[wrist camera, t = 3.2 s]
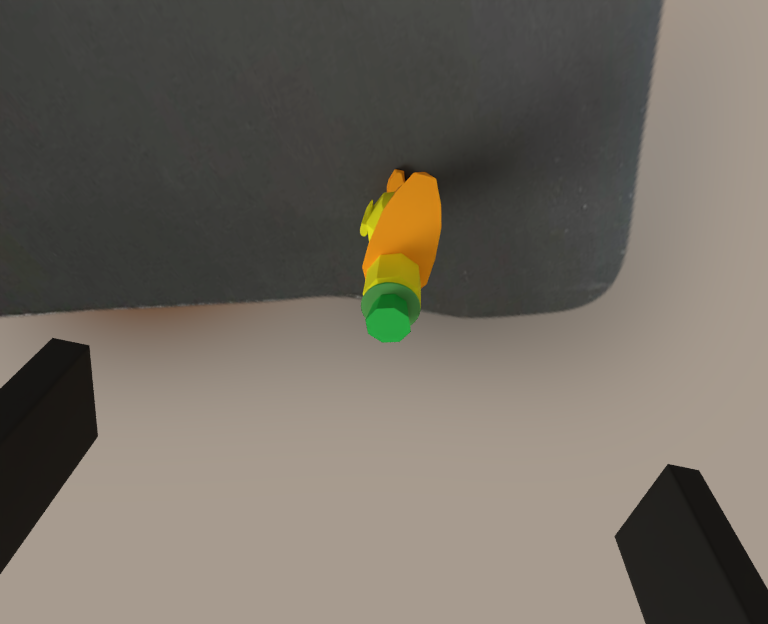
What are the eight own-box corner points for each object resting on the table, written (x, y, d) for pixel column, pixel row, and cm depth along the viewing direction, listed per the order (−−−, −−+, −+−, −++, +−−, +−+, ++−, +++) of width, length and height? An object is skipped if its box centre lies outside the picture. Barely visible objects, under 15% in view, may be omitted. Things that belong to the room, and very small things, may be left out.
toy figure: (389, 112, 26) (369, 196, 16) (459, 133, 26) (484, 228, 16) (358, 235, 29) (324, 369, 19) (420, 252, 30) (419, 392, 20)
